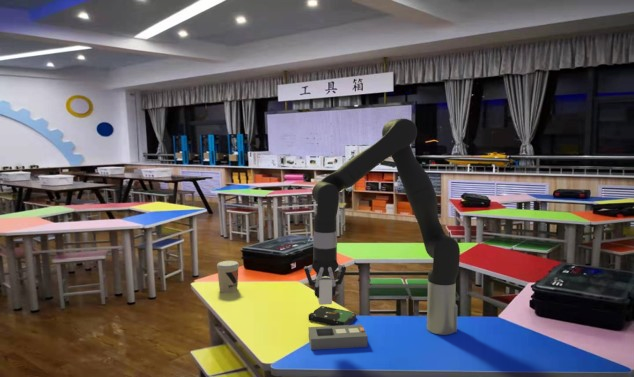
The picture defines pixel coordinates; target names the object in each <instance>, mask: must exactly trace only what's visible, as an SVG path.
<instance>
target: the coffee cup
mask: <svg viewBox="0 0 634 377" xmlns="http://www.w3.org/2000/svg"><path fill="white" fill-rule="evenodd" d="M239 265H240V264H239V262H238V261H236V260H223V261H219V262H218V263H217V264H216V267H217V279H218V285H219V286H218V287H219V291H220V292H221V293H233V292H236V291H238V286H239V284H238V283H239V282H238V280H239Z"/></svg>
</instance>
